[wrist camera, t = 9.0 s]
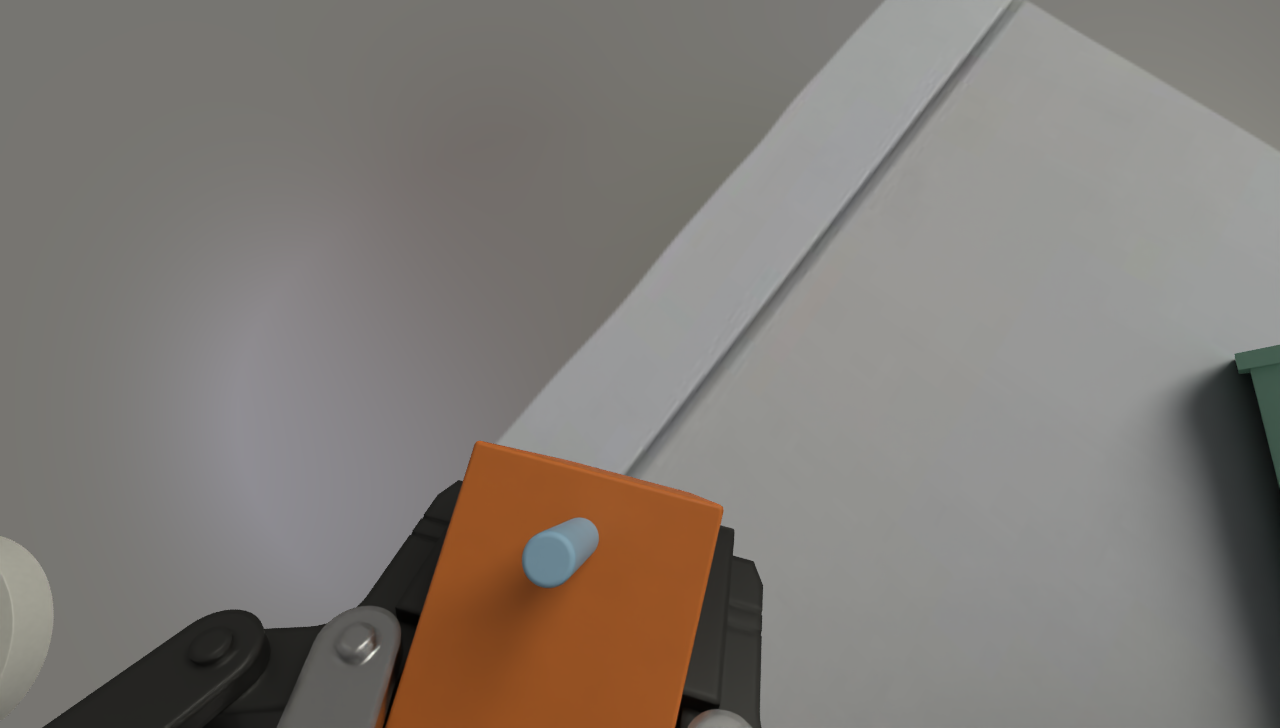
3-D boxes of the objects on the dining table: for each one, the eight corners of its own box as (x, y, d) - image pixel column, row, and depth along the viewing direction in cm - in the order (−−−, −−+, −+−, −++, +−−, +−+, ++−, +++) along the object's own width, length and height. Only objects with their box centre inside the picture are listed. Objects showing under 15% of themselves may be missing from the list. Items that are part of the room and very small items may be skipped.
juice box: (511, 660, 16) (192, 1044, 5) (568, 460, 18) (405, 423, 6) (643, 700, 16) (603, 1201, 5) (692, 493, 17) (750, 515, 6)
